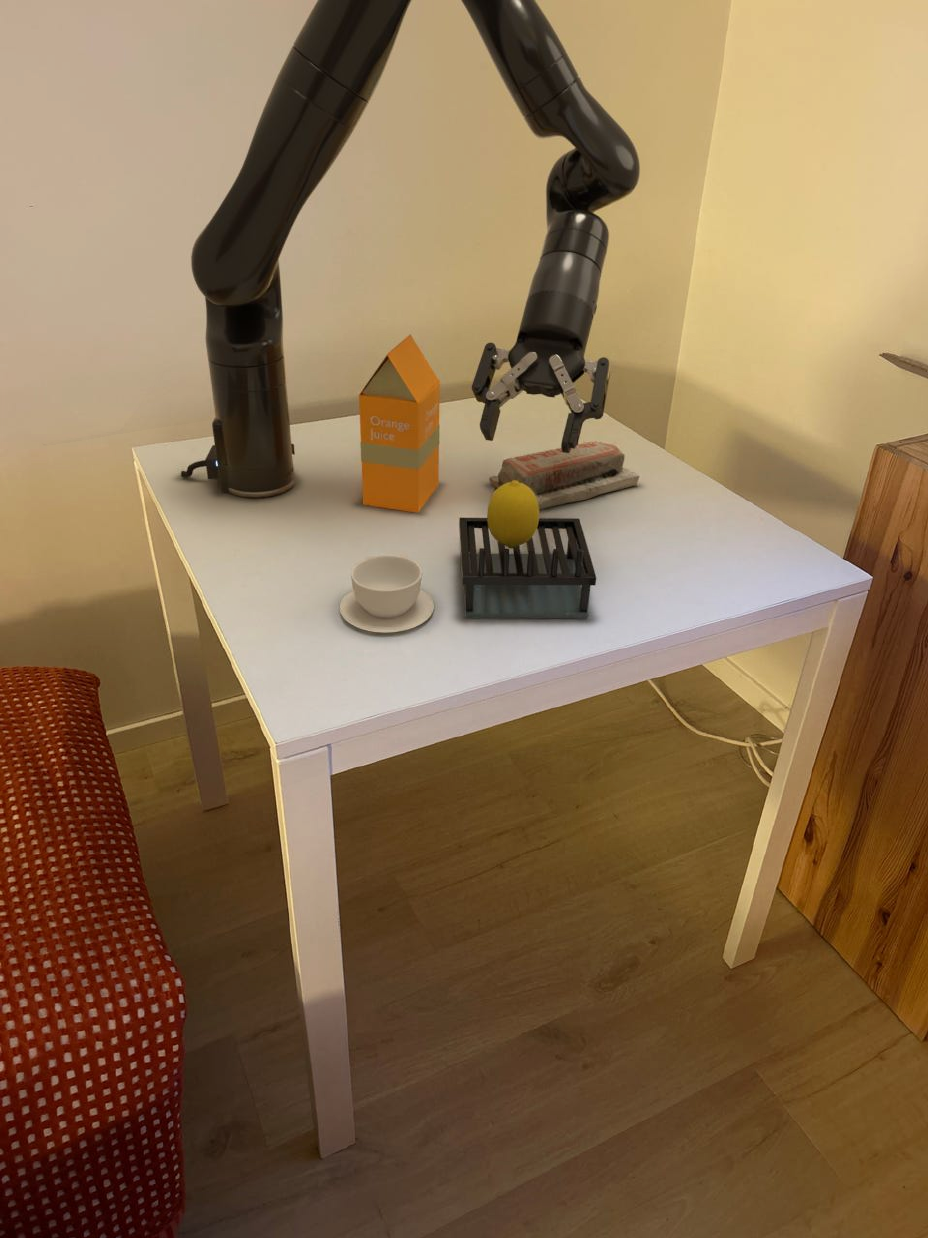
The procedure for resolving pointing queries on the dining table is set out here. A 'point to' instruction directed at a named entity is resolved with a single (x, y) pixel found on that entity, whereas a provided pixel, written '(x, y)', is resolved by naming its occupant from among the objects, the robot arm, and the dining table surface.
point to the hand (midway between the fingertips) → (526, 443)
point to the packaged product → (568, 473)
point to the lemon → (513, 514)
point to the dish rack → (526, 574)
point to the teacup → (386, 595)
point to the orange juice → (400, 431)
